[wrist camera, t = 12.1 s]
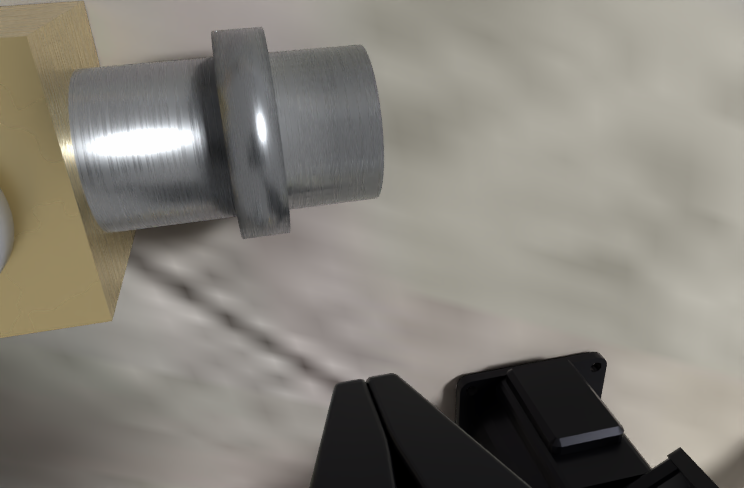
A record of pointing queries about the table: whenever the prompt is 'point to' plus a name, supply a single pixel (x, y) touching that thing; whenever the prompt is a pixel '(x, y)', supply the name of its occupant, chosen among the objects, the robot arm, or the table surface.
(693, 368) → the table surface
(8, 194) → the pipe valve
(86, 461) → the table surface
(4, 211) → the lever
